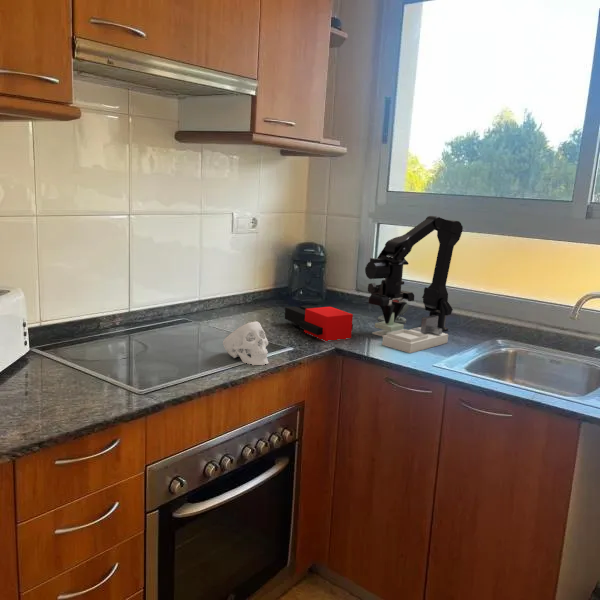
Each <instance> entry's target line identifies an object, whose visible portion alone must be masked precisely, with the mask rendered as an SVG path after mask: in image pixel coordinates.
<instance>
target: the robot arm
mask: <svg viewBox="0 0 600 600" xmlns="http://www.w3.org/2000/svg"><path fill="white" fill-rule="evenodd" d="M463 227H464V226H463V225H462V223H461V222H460V221H459V220H452V219H445V218H443V217H440V216H437V215H428V216H426V218H425V219H424V220H423V221H421V222H420V223H418V224H417V225H415V227H413V228H412V229H410V230H409V231H407V232H406V233H405V234H403V235H401V236H395V237H393V238H391V239H388V240H387V242H385V244H384V247H383V248H382V250H381V251H380V253H379V254H378V255H377V258H373V257H370V258H369V262H367V264H366V265H365V267H364V272H365V275H366V278H368V279H369V280H377V279H378V280H379V279H382V280H381V281H380V284H376V283H375V282H372V283H368V284H367V285H368V286H367V292H368V293H369V294H370V295H369V296H368V303H367V304H370V305H374V306H379V307H380V309H381V311H382V316H384V319H385V323H389V321H390V318H391V315H392V312H394V313H395V314H394V321H395V320H396V318H397V316H400V315H399V313H400V311H401V310H402V308H403V307H404V305H405V304H406V302H407V301H408V302H413V301H415V294H414V292H413V291H408V290H402V286H403V285H405V281H403V274H404V273H403V271H404V266H406V265H407V266H408V265H409V262H408V261H407V260H406V257H407V256H408V255H409V254H410V253H411V251H412V249H413V247H414V246H415V245H416V244H418V243H419V242H420V241H421V240H423V239H424V238H425V237H426V236H428V235H429V234H431V233H432V232H434V231H437V232H436V237H437V240H438V243H439V246H438V250H437V255H436V261H435V266H434V270H433V276H432V280H431V283H430V285H429V286H428V287H426V286H425V287H424V288H423V294H422V297H421V298H422V303H423V305H424V309H425V311H426V312H429V315H428V316H432V315H436V316H438V326H437V327H438V328H442V332H444V331H447V330H449V327H446V322H447V321H446V320H447V316H449V315H452V313H453V307H452V306H451V305H450V302H449V300H448V299H449V293H448V289H447V286H446V285H447V282H448V276H449V273H450V271H449V270H450V266H451V262H452V257H453V251H454V247H455V246H456V245H457V243H458V242H459V241H460V240H461V237H462V236H461V235H462V233H463V230H464V229H463ZM383 295H384V296H383ZM403 300H407V301H406V302H403Z"/></svg>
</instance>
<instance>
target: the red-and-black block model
mask: <svg viewBox="0 0 600 600" xmlns="http://www.w3.org/2000/svg"><path fill="white" fill-rule="evenodd" d="M353 316H354V314H353V313H349V312H347V311H345V310H341V309H338V308H335V307H333V306H322V307H315V306H312V305H307V304H306V305H300V306H299V307H298V306H286V307H285V309H284V320H286V321H290V322H292V323H294V324H297V325H299V328H300V329H302V330H303V333H304V332H305V333H304V334H306V333H308V334H311V335H313V336H315V337H318V338H320V339H323V340H325V341H328V340H337V339H344V340H347V339H346V338H351V339H352V332H353V329H354V324H353V319H354V318H353ZM308 334H307V335H308ZM311 335H310V336H311ZM313 336H312V337H313ZM315 337H314V338H315ZM318 338H317V339H318ZM320 339H319V340H320ZM323 340H322V341H323ZM325 341H324V342H325ZM337 341H338V340H337Z"/></svg>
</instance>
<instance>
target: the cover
mask: <svg viewBox="0 0 600 600" xmlns="http://www.w3.org/2000/svg"><path fill="white" fill-rule="evenodd" d="M394 314H395V313H394V312H392V315H391V318H390V321H389V323H385V321H383V322H380V321H378V322H375V323H374V328H377V329H380V330H386V331H390V332H392V331H398V330H402V329H405V327H404V326H405V324H399V323H395V322H394Z"/></svg>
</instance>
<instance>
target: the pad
mask: <svg viewBox="0 0 600 600" xmlns="http://www.w3.org/2000/svg"><path fill="white" fill-rule="evenodd" d="M389 332H390V331H386V330H383V329H381V330H378V331H373V332H372V333H371V334H372V335H376V336H379V337H382V338H383V336H384V335H387V333H389ZM392 332H393V331H392Z"/></svg>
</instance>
